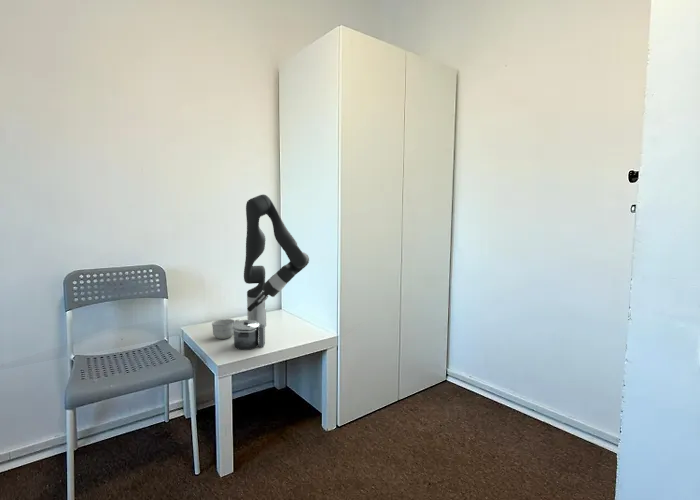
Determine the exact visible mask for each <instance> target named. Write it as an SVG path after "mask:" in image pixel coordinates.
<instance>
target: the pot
mask: <svg viewBox="0 0 700 500" xmlns="http://www.w3.org/2000/svg"><path fill="white" fill-rule="evenodd" d="M233 343H234V344H233V346H234V349H236V350H240V351H248V350H249V351H250V350H253V349H256V348H257V347H258V348H264V346H265V344H266V326H265V324H261V325H260V326H259V328H257V329H254V330H248V331H242V330H236V329H234V334H233Z"/></svg>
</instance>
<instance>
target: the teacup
mask: <svg viewBox="0 0 700 500" xmlns="http://www.w3.org/2000/svg"><path fill="white" fill-rule="evenodd" d="M236 321H240V320H239V319H235V320H234V319H231V318H230V319H229V318H223V319H218V320H214V321H213V322H212V323H211V325H212V327H211V328H212V335H213V336H214V337H215V338H217V339H219V340H223V339H229V338H232V336H234V328H233V323H234V322H236Z"/></svg>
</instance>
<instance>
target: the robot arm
mask: <svg viewBox="0 0 700 500" xmlns="http://www.w3.org/2000/svg"><path fill="white" fill-rule="evenodd" d="M265 215H267V217H268V218H269V219H270V221H271V224H272V229H273V235H274V239H275V241H276V242H277V244H278V245H279V247H280V248H281V249H282V250H283V251H284V252H285V255H286V257H287V258H288V260H289V261H288V263H287V264H284V265H283V266H282V267H280V268H279V270H277V272H276V273H273V274H272V276H271V277H270V278H269V279H267V280H266V268H265V266H264V265H254V263H255V262H256V261H257V260H258V259H259V258H260V257H261V256H262V254H263V253H264V251H265V250H266V249H265V248H266V235H265V233H264V231H263V230H262V229H261V228H260V218H261V217H263V216H265ZM245 216H246V238H245V239H246V240H245V259H244V260H245V261H244V268H243V269H244V270H243V281H244V283H245V284H254V285H255V284H257V285H256V286H253V287H252V288H250V289H248V290H247V292H246V301H247V303H246V304H247V305H246V308H247V311H246V313H247V319H246V320H254V321H258V322H259V326H260V325H261V324H265V327H267V308H266V300H267V299H268V298H269V296H270V297H272V298H275V296H277V295H278V294H279V292H281V291H282V290H283V289H284V288H285V287H286V285H287V284H289V282H290V281H291V280H292V279H293V278H294V277H295V276H296V275H297V274H298V273H300V272H301V271H303V270H304V269H305V268H306V267H307V266H308V264H309V262H310V257H309V254H307V253H305V252H303V251H302V250H301V248H300V247H299V246H298V242H297V241H296V239H295V237H294V236H293V235H292V234H291V232H290V231H289V230H288V229H287V227H286V225H285V223H284V222H283V220H282V217H281V216H280V214H279V212H278V210H277V208H276V206H275V204H274V203H273V201H272V199H271V198H270V197H269V196H268V195H266V194H259V195H257V196H255V197H252V198H250V199H248V200H247V201H246V204H245Z"/></svg>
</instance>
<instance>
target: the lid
mask: <svg viewBox="0 0 700 500" xmlns="http://www.w3.org/2000/svg"><path fill="white" fill-rule="evenodd" d="M233 328H234V329H236V330H242V331H248V330H254V329H257V328H259V322H258V321H254V320H248V319H241V320H239V321H236V322H234V323H233Z"/></svg>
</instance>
